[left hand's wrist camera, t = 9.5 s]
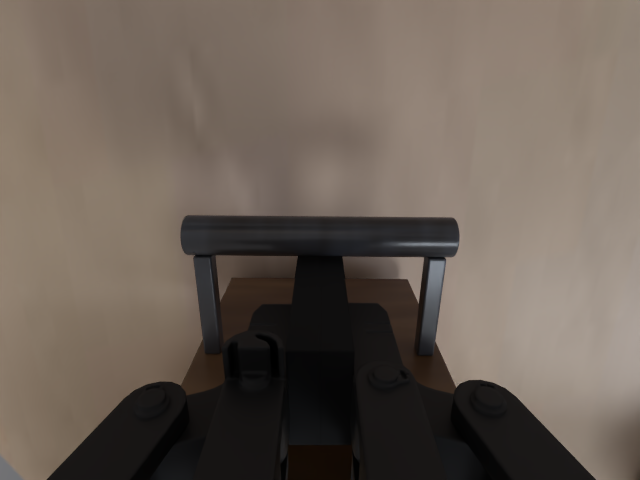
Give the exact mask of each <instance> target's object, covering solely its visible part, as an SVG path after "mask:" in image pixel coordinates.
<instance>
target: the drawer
mask: <svg viewBox="0 0 640 480" xmlns="http://www.w3.org/2000/svg"><path fill="white" fill-rule="evenodd" d="M181 245H182V249H183V251H184V253H185V254H187V255H195V256H194V258H193V259H194V267H195V276H196V284H197V293H198V301H199V309H200V318H201V326H202V335H203V340H202V342H201V344H200V347H199V349H198V351H197V353H196V355H195V357H194V359H193V361H192V364H191V366H190V368H189V370H188V372H187V374H186V376H185V378H184V381H183V383H182V385H181V387H182V388H183V389H184V390H185V392H186V395H190V394H195V393H199V392H203V391H206V390H210V389H213V388H215V387H217V386H219V385H221V384H223V383H224V380H225V376H224V366H223V357H222V346H223V345H224V343H225V342H226V341H227V340H228V339H230V338H231V337H232V336H234V335H236V334H239V333H242V332H245V331H248V327H249V326H250V321H251V317H252V314H253V312H254V311H255V310H256V309H257V308H259V307H260V306H261V305H262V304H292V297H293V289H294V282H295V278H232V279H231V281H230V283H229V285H228V287H227V289H226V291H225V293H224V296H223V298H222V300H221V302H220V298H219V288H218V277H217V267H216V257H215V255H237V256H355V257H424V264H423V273H422V281H421V290H420V299H419V304H418V302H417V299H416V297H415V295H414V293H413V291H412V288H411V286H410V284H409V282H408V280H407V279H345V282H346V290H347V297H348V303H379V304H380V305H381V306H382V307H383V308H384V309H385V310H386V311H387V313H388V316H389V319H390V324H391V326H392V329H393V333H394V336H395V339H396V343H397V346H398V349H399V353H400V356H401V359H402V363H403V366H405V367H406V368H407V369H409V370H410V371H411V373H412V374H413V376H414V378H415V380H416V381H417V382H418V383H420V384H422V385H424V386H426V387H429V388H432V389H435V390H439V391H443V392H448V393H452V394H454V390H455V389H456V386H455V384H454V382H453V380H452V377H451V375H450V373H449V371H448V368H447V366H446V364H445V362H444V360H443V357H442V355H441V353H440V351H439V348H438V346H437V344H436V342H435V339H436V331H437V324H438V317H439V309H440V302H441V295H442V287H443V280H444V273H445V265H446V259H445V257H454V256H455V255H456V253H457V250H458V246H459V228H458V224H457V221H456V220H455V219H454V218H446V217H328V216H210V215H188V216H186V217H185V218H184V220H183V222H182V226H181ZM351 467H352V440H351V445H289V442H288V478H287V480H351Z"/></svg>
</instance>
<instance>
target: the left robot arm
mask: <svg viewBox="0 0 640 480" xmlns="http://www.w3.org/2000/svg"><path fill="white" fill-rule="evenodd" d="M222 357H223V366H224V376H225V380H224V383H223V384H221V385H219V386H217V387H215V388H213V389H210V390H206V391H203V392H199V393H195V394H190V395H186V392H185V390H184V389H183V388H182V387H181V386H180V385H178V384H175V383H173V382H156V383H151V384H147V385H145V386H143V387H141V388H138V389H136V390H134V391H133V392H132V393H131V394H129V395H128V396H127V397H126V398H124V399H123V400H122V401H121V403H120V404H119V405H118V406H117V407H116V408H115V409H114V410H113V411H112V412H111V413H110V414H109V415H108V416H107V417H106V418H105V419H104V420H103V421H102V422H101V423H100V424H99V425H98V427H97V428H96V429H95V430H94V431H93V432H92V433H91V434H90V435H89V436H88V437H87V438H86V439H85V440H84V441H83V442H82V443H81V444H80V445H79V446H78V447H77V448H76V450H75V451H74V452H73V453H72V454H71V455H70V456H69V457H68V458H67V459H66V460H65V461H64V462H63V463H62V464H61V465H60V466H59V467H58V468H57V469H56V470H55V471H54V473H53V474H52V475H51V476H50V477H49V478H48V479H47V480H287V478H288V442H289V445H351V440H352V467H351V480H596V479H595V478H594V477H593V476H592V475H591V474H590V473H589V472H588V471H587V470H586V469H585V468H584V467H583V466H582V465H581V464H580V463H579V462H578V461H577V460H576V459H575V458H574V457H573V455H572V454H571V453H570V452H569V451H568V450H567V449H566V448H565V447H564V446H563V445H562V444H561V443H560V442H559V441H558V440H557V439H556V438H555V437H554V436H553V435H552V434H551V433H550V432H549V431H548V430H547V428H546V427H545V426H544V425H543V424H542V423H541V422H540V421H539V420H538V419H537V418H536V417H535V416H534V415H533V414H532V413H531V412H530V411H529V410H528V409H527V408H526V407H525V406H524V405H523V404H522V403H521V402H520V400H519V399H518V398H517V397H516V396H514V395H513V394H512V393H511V392H509V391H508V390H507V389H505V388H503V387H501V386H499V385H497V384H495V383H492V382H487V381H483V380H468V381H466V382H463V383H461V384H459V385H458V387H457V388H456V389H455V390H454V394H452V393H448V392H443V391H439V390H435V389H432V388H429V387H426V386H424V385H422V384H420V383H418V382H417V381H416V380H415V378H414V376H413V374H412V373H411V371H410V370H409V369H407V368H406V367H405V366H403V363H402V359H401V356H400V353H399V349H398V346H397V343H396V339H395V336H394V333H393V329H392V326H391V324H390V319H389V316H388V313H387V311H386V310H385V309H384V308H383V307H382V306H381V305H380V304H379V303H348V297H347V290H346V282H345V275H344V267H343V259H342V256H298V259H297V266H296V274H295V282H294V289H293V297H292V304H262V305H261V306H260V307H259V308H257V309H256V310H255V311H254V312H253V314H252V317H251V321H250V326H249V327H248V331H245V332H242V333H239V334H236V335H234V336H232V337H231V338H230V339H228V340H227V341H226V342H225V343H224V345H223V346H222Z"/></svg>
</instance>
